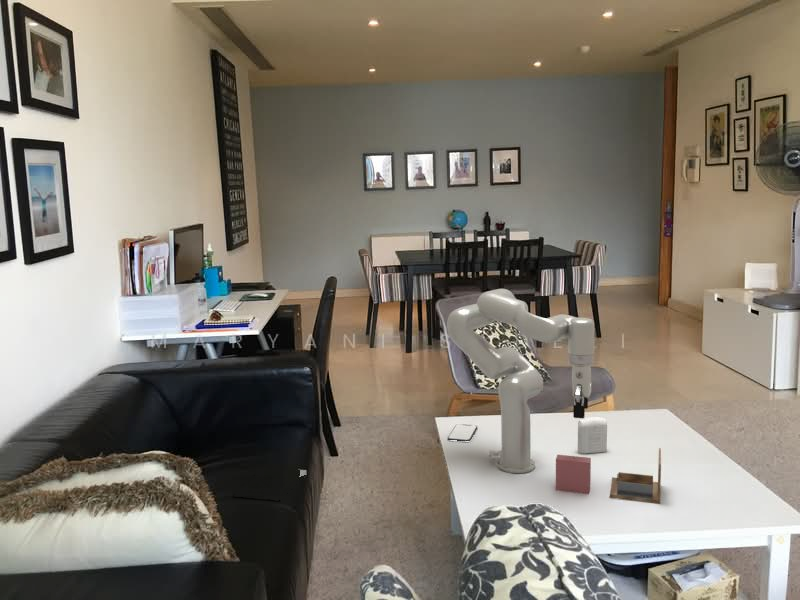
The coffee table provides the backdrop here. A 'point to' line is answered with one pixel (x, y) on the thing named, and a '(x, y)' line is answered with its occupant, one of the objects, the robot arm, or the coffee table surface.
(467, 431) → the phone case
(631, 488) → the bookend
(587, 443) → the photo printer
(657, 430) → the coffee table surface
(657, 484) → the shelf
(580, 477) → the book
